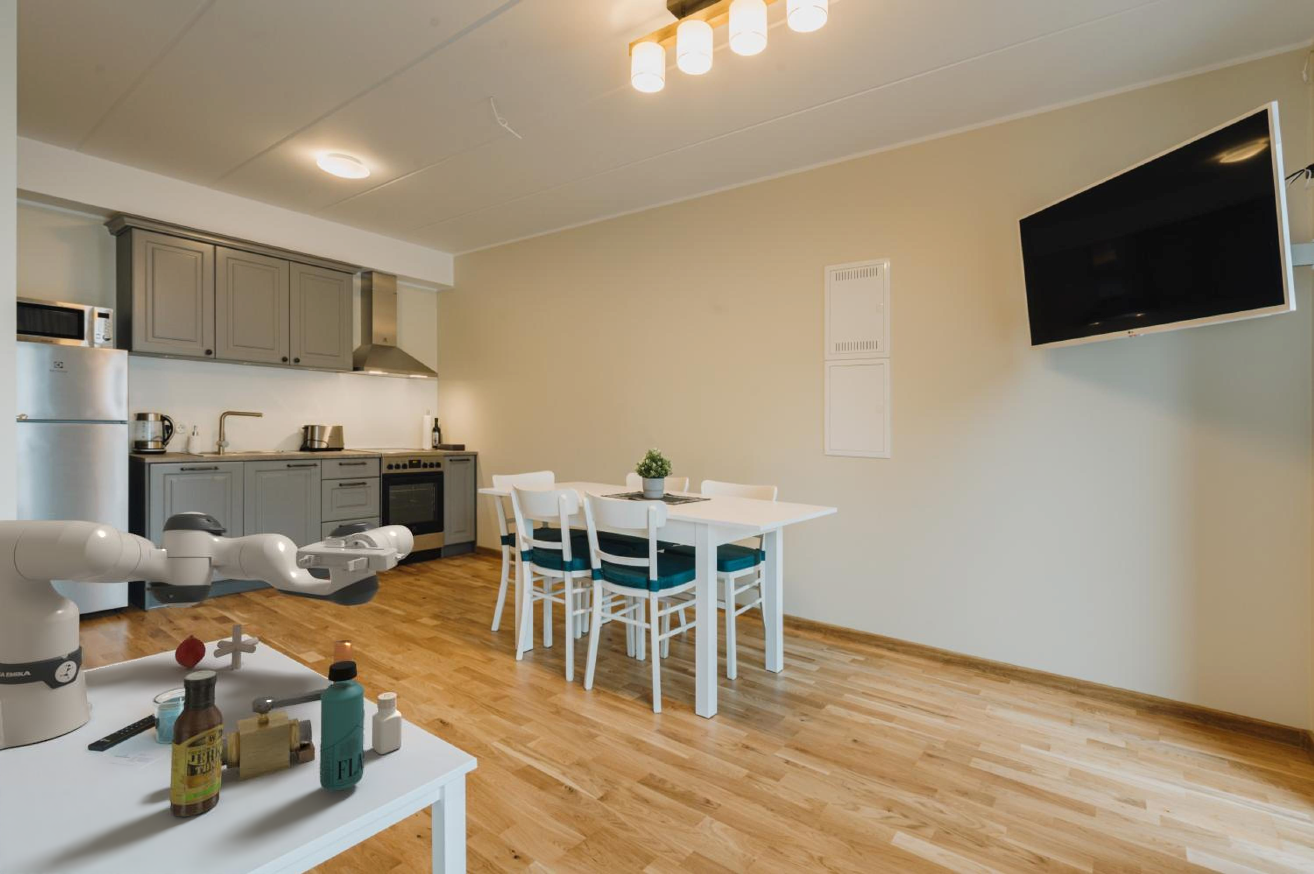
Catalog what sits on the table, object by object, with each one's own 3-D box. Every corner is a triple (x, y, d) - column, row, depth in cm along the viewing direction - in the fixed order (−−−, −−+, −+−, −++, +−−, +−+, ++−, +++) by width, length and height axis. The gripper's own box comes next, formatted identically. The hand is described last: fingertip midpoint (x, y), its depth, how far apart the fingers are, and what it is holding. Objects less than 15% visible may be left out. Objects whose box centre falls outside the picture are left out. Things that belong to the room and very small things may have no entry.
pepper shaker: (370, 748, 114) (371, 695, 114) (392, 740, 117) (393, 689, 117) (380, 756, 111) (381, 702, 111) (402, 748, 114) (403, 695, 114)
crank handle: (252, 714, 105) (252, 658, 105) (252, 706, 108) (253, 652, 108) (352, 695, 113) (353, 644, 113) (350, 689, 116) (351, 638, 116)
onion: (168, 671, 147) (168, 637, 147) (190, 662, 153) (190, 629, 153) (190, 674, 146) (190, 639, 146) (211, 664, 152) (212, 631, 152)
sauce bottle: (187, 823, 92) (189, 686, 92) (159, 813, 94) (161, 679, 94) (231, 800, 98) (233, 671, 97) (204, 790, 100) (205, 664, 100)
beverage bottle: (334, 805, 97) (335, 674, 97) (309, 791, 100) (311, 665, 100) (373, 785, 102) (374, 661, 102) (348, 773, 106) (350, 653, 106)
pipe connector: (232, 678, 144) (233, 634, 144) (199, 672, 147) (200, 629, 147) (271, 663, 153) (272, 622, 153) (239, 658, 156) (240, 617, 156)
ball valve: (182, 796, 98) (182, 735, 98) (181, 779, 103) (181, 720, 103) (315, 760, 110) (315, 705, 110) (309, 746, 114) (309, 693, 114)
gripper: (409, 569, 138) (372, 584, 124) (321, 564, 140) (276, 579, 127) (409, 539, 138) (373, 552, 124) (322, 536, 140) (276, 547, 127)
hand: (323, 565), depth 125 cm, fingers open, 8 cm apart
